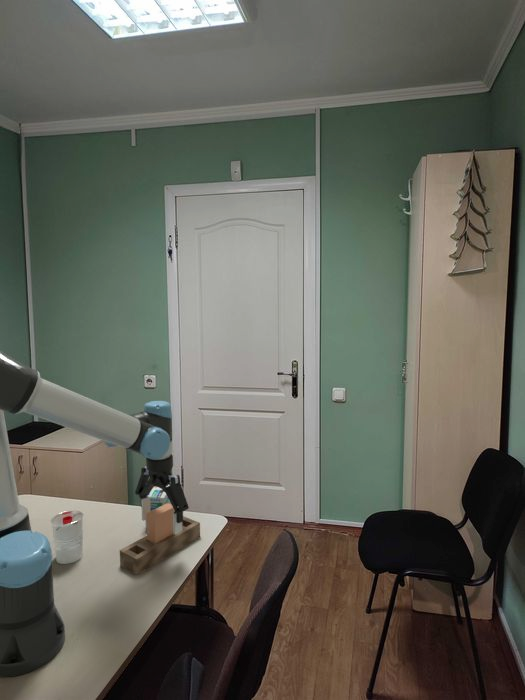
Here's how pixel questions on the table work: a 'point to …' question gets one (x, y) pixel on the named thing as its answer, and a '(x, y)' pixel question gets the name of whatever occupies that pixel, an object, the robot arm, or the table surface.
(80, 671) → the table surface
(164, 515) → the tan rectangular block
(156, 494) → the light bulb box
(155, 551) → the brown long block
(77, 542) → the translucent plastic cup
